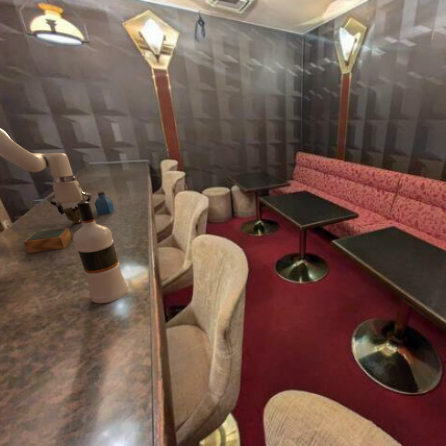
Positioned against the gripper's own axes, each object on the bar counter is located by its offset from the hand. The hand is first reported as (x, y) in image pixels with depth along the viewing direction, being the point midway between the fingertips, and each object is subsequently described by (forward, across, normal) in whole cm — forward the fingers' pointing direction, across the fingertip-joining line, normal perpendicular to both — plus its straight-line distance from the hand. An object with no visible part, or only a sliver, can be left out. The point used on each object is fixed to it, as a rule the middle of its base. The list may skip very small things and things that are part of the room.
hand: (75, 212), depth 126 cm
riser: (+6, +4, +27) cm, 28 cm away
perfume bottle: (+6, -10, -15) cm, 19 cm away
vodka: (+6, -24, +77) cm, 81 cm away
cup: (+6, 0, 0) cm, 6 cm away
